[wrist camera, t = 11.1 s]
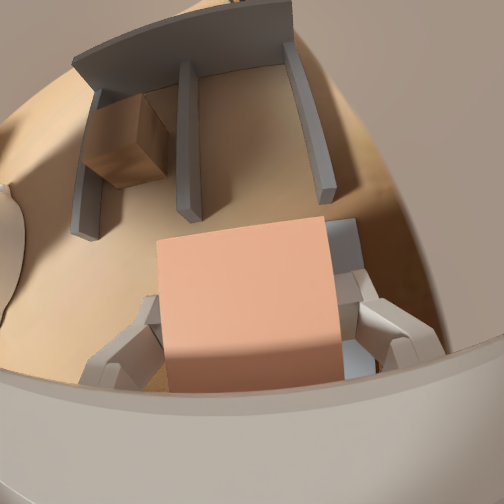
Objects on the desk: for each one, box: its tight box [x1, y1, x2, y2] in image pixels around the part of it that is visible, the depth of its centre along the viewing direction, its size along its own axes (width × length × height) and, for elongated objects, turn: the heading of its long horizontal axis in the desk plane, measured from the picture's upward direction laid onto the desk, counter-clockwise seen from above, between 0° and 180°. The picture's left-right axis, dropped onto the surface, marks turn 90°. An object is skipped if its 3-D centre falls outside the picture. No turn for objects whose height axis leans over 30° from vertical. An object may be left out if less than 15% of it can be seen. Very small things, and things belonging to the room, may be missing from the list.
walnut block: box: [81, 93, 168, 190], centre depth 22 cm, size 5×5×6 cm
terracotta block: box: [156, 216, 345, 393], centre depth 13 cm, size 5×5×11 cm
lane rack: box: [70, 0, 337, 241], centre depth 20 cm, size 21×17×8 cm
